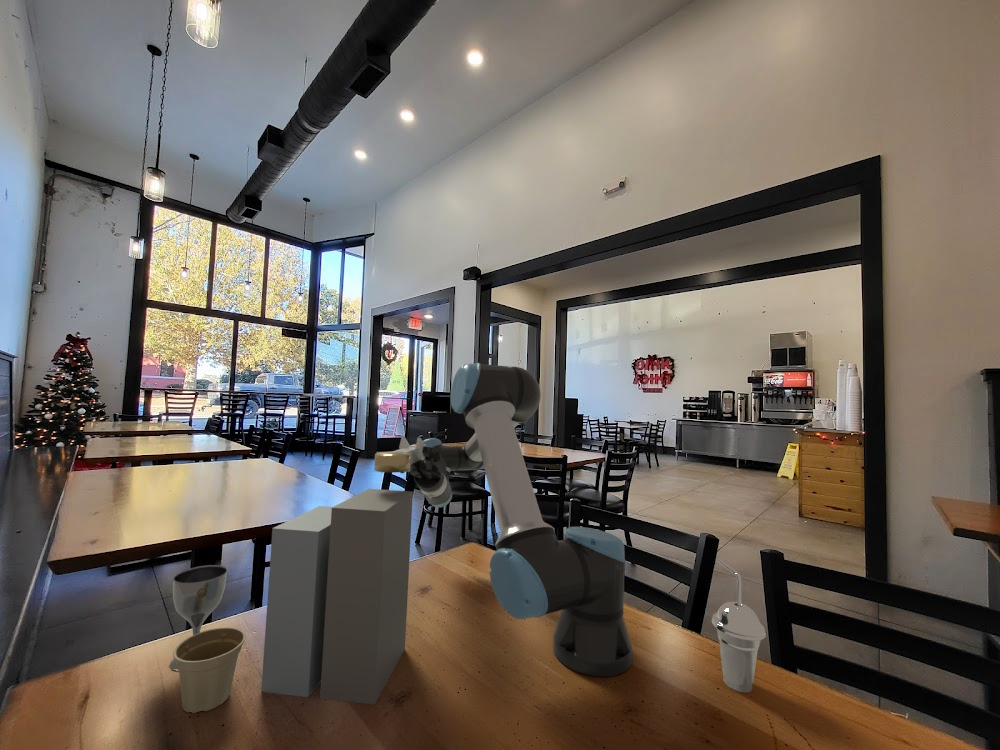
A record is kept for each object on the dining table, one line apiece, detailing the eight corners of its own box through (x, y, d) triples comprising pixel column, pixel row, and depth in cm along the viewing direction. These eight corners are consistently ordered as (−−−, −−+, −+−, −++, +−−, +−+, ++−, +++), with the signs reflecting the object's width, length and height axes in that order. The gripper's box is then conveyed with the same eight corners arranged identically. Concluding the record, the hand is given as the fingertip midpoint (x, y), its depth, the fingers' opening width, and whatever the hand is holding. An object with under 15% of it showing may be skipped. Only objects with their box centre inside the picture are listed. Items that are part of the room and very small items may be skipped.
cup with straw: (718, 695, 72) (719, 575, 73) (705, 663, 81) (706, 556, 82) (774, 705, 70) (774, 581, 71) (754, 671, 79) (754, 561, 80)
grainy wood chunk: (434, 457, 103) (434, 444, 104) (404, 473, 81) (404, 457, 81) (406, 455, 104) (406, 443, 104) (368, 471, 81) (369, 455, 81)
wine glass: (226, 659, 76) (232, 574, 77) (171, 679, 71) (178, 587, 72) (214, 641, 82) (220, 561, 83) (162, 658, 76) (169, 572, 77)
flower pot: (215, 725, 62) (220, 663, 62) (151, 721, 62) (157, 659, 62) (254, 681, 71) (258, 628, 71) (199, 678, 71) (203, 625, 72)
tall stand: (404, 649, 82) (412, 491, 83) (374, 704, 67) (384, 511, 69) (359, 644, 83) (368, 488, 84) (320, 698, 68) (331, 507, 69)
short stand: (350, 643, 83) (357, 508, 84) (308, 697, 68) (318, 531, 69) (311, 639, 84) (319, 505, 85) (261, 691, 69) (272, 528, 70)
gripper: (458, 494, 112) (442, 460, 92) (398, 490, 114) (371, 456, 94) (461, 467, 116) (447, 429, 97) (404, 464, 118) (379, 425, 98)
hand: (410, 442), depth 95 cm, fingers closed on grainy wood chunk, 3 cm apart
